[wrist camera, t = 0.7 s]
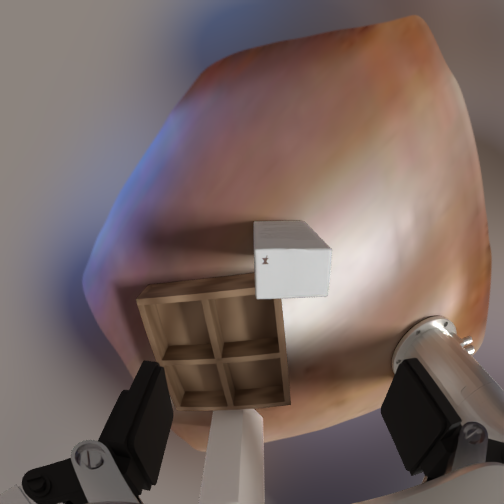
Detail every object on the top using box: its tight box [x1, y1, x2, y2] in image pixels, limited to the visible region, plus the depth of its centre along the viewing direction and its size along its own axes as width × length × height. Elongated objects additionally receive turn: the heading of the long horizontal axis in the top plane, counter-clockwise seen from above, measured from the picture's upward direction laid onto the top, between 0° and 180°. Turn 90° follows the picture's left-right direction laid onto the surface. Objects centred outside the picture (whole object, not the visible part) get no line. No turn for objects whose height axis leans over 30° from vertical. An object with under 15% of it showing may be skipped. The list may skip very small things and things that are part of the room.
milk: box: [199, 409, 265, 504], centre depth 30 cm, size 6×6×22 cm
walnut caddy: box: [136, 273, 291, 411], centre depth 35 cm, size 16×18×4 cm
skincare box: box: [254, 221, 332, 299], centre depth 27 cm, size 6×4×12 cm
